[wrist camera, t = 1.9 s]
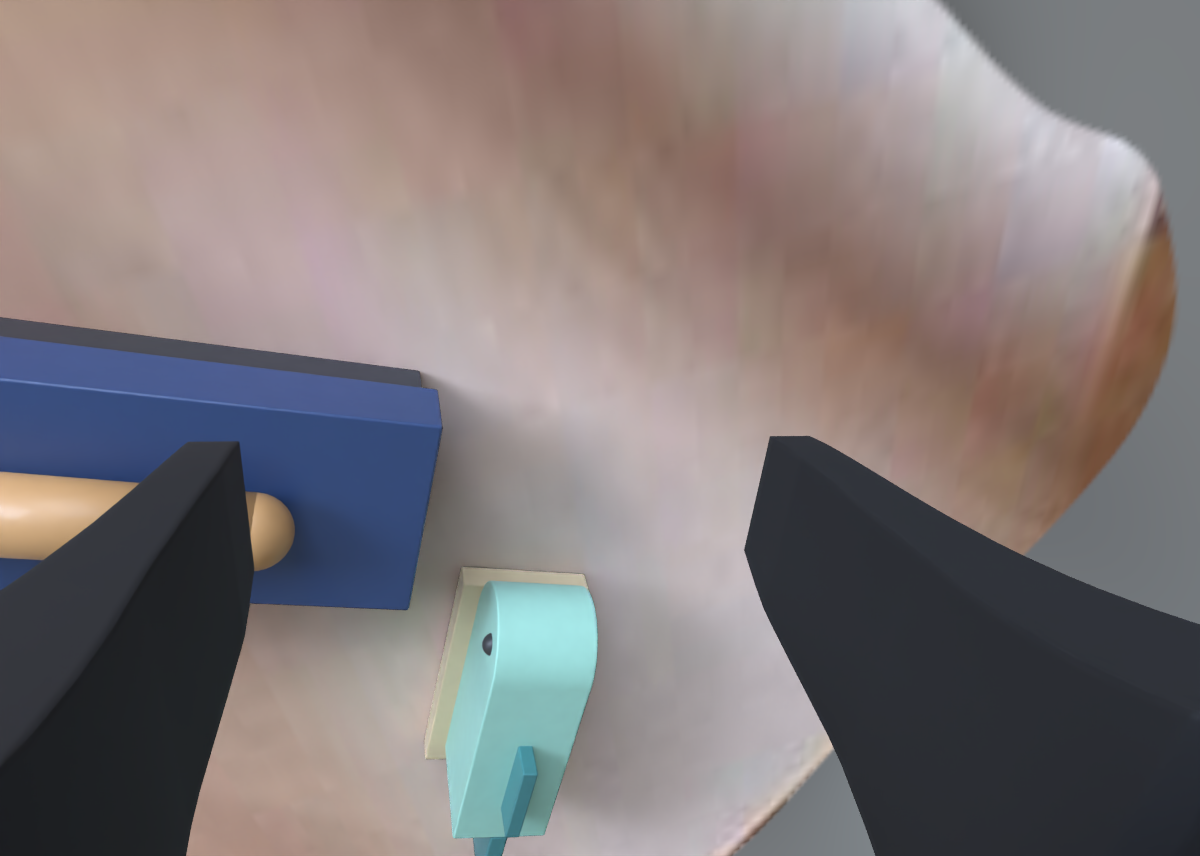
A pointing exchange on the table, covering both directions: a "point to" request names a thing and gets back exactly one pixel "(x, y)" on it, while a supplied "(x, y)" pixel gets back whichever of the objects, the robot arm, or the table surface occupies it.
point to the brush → (221, 413)
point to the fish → (511, 698)
